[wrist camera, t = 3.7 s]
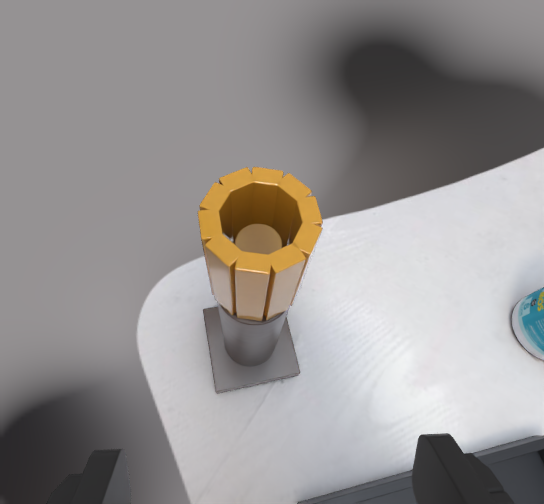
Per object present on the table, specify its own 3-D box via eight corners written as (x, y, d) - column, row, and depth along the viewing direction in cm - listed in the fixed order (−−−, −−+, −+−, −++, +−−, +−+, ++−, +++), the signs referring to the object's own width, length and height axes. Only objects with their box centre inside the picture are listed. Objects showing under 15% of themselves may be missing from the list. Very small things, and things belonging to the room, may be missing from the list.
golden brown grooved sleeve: (217, 329, 24) (207, 284, 17) (205, 242, 26) (192, 172, 19) (309, 313, 25) (335, 264, 18) (289, 230, 27) (305, 160, 20)
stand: (216, 393, 37) (188, 337, 17) (204, 313, 40) (168, 189, 21) (298, 375, 38) (358, 303, 19) (279, 299, 42) (313, 169, 22)
